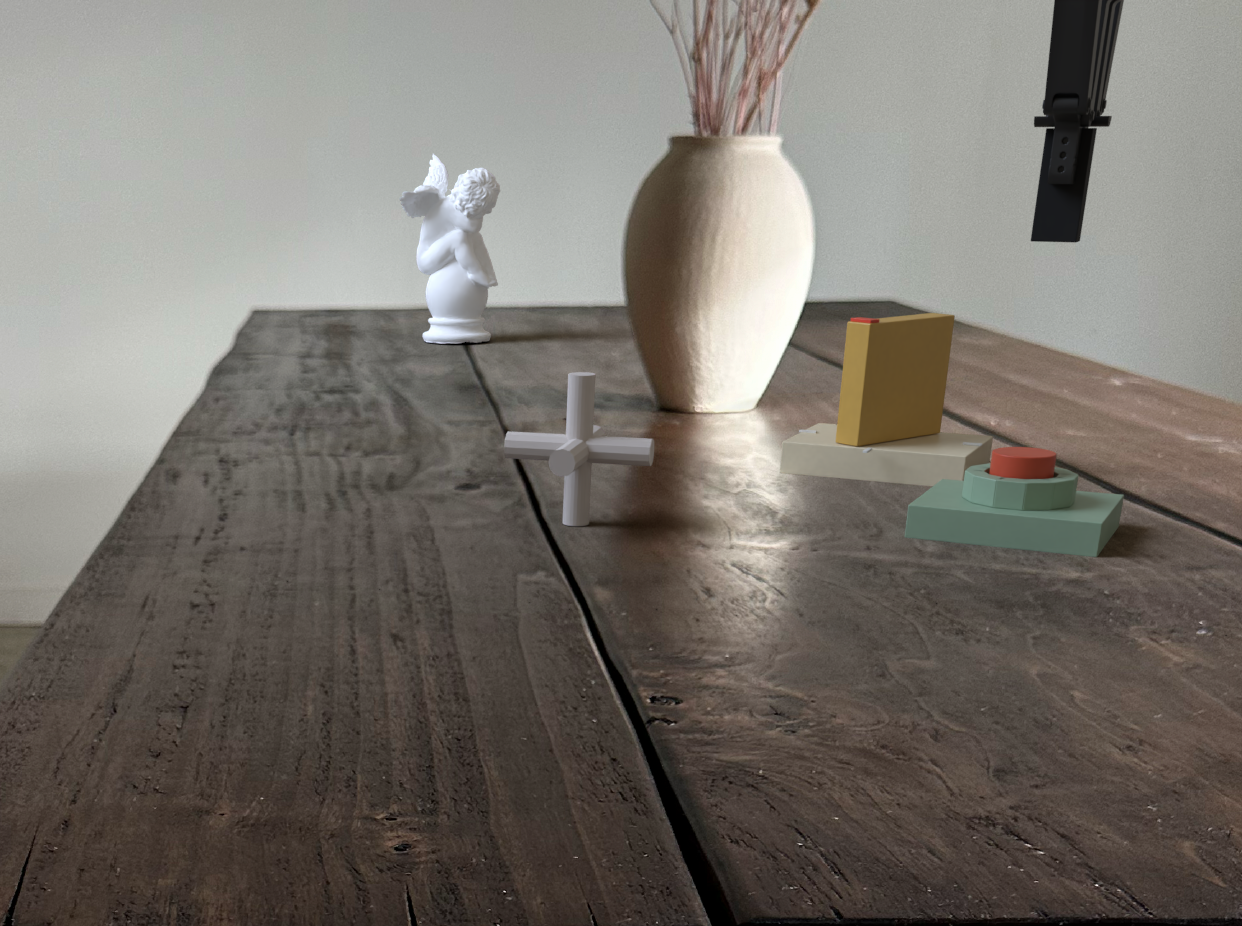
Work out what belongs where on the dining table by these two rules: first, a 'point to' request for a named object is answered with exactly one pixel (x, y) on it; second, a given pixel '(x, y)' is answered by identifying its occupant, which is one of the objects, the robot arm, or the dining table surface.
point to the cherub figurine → (454, 251)
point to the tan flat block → (893, 378)
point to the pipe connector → (578, 448)
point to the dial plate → (884, 457)
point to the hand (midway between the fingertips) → (1055, 240)
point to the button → (1023, 463)
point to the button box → (1016, 513)
